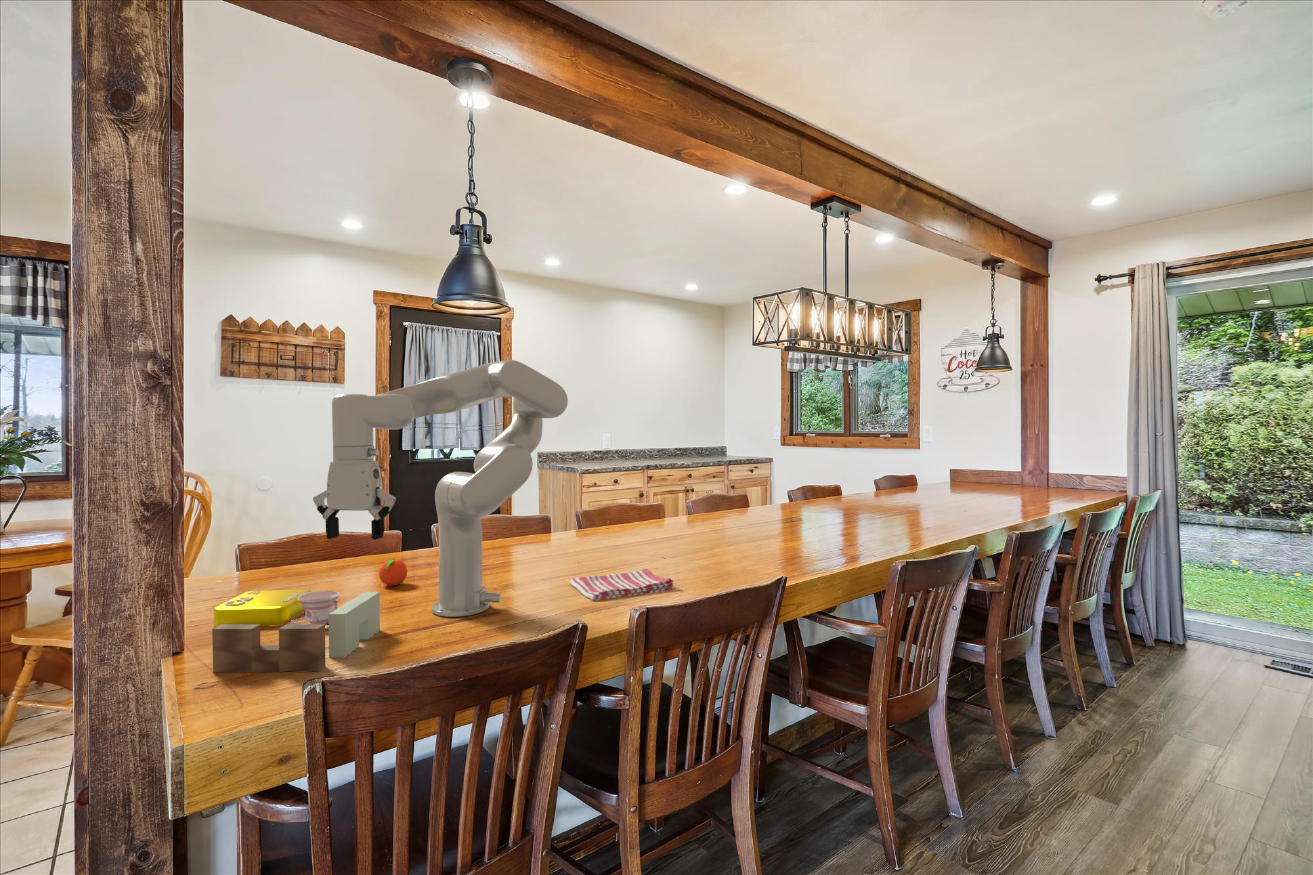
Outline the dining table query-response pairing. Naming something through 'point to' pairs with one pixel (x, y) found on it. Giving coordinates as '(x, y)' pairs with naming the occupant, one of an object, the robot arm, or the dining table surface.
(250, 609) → the element tile
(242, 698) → the dining table surface
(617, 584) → the dish towel
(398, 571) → the clementine
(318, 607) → the teacup
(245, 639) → the walnut upright plate
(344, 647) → the sage cross-piece
